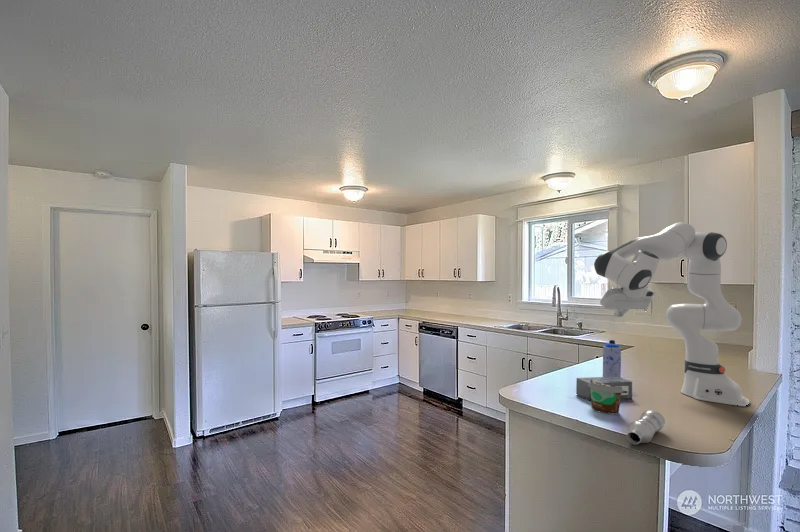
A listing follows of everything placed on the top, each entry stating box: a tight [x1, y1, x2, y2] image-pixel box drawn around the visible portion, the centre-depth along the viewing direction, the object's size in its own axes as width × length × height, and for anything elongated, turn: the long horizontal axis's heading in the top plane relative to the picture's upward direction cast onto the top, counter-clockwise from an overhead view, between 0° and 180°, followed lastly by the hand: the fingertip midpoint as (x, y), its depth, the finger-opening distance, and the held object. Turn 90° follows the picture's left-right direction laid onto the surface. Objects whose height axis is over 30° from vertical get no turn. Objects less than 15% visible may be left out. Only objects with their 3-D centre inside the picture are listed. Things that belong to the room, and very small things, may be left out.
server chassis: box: [575, 376, 633, 402], centre depth 162 cm, size 20×8×7 cm, turn 102°
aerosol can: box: [602, 339, 622, 378], centre depth 184 cm, size 8×8×20 cm
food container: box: [588, 379, 623, 414], centre depth 146 cm, size 12×6×10 cm, turn 34°
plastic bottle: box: [626, 409, 666, 445], centre depth 122 cm, size 6×7×20 cm
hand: (617, 315), depth 162 cm, fingers closed
